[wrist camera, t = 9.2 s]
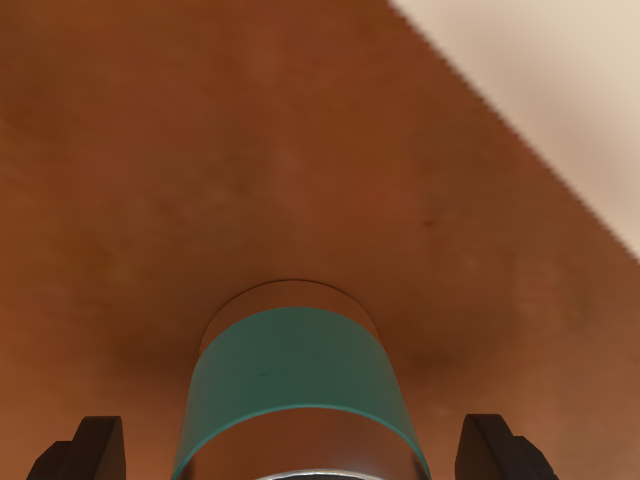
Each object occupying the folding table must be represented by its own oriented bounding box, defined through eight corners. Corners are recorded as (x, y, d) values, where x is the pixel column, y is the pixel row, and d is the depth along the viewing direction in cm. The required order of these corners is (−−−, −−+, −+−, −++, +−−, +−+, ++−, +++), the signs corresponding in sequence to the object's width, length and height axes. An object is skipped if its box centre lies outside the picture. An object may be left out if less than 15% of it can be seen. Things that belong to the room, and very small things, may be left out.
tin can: (194, 275, 14) (139, 473, 8) (393, 278, 15) (482, 465, 9) (198, 435, 16) (157, 690, 10) (373, 432, 17) (434, 672, 11)
